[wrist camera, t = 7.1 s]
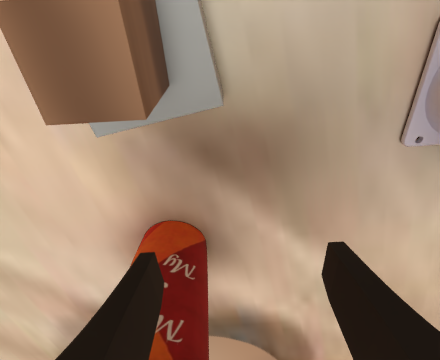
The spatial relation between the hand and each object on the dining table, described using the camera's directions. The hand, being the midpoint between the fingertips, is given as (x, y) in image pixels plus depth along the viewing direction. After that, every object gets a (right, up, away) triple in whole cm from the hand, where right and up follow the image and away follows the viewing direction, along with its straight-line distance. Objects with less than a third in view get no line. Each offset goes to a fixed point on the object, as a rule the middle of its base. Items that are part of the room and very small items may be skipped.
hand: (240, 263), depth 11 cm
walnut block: (-6, +10, +2) cm, 12 cm away
